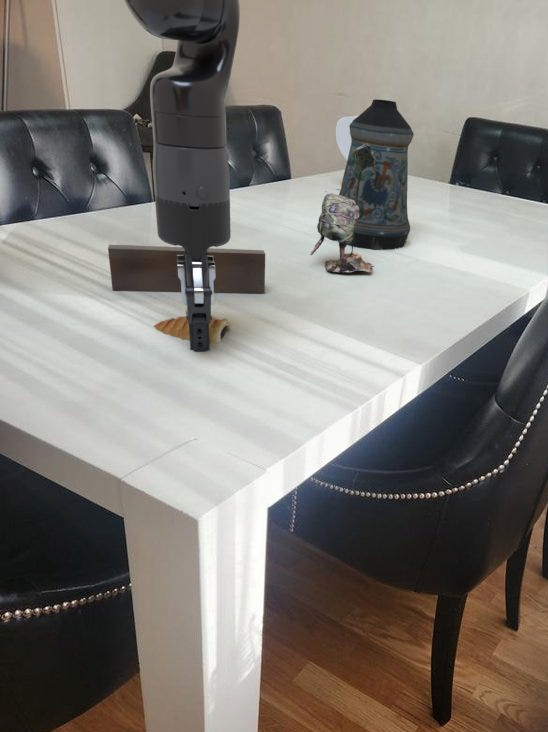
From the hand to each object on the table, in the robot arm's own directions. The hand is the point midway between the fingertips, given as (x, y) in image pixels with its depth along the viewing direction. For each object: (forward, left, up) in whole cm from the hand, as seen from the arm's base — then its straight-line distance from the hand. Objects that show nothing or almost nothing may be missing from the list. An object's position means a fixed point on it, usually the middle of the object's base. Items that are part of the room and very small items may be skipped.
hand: (200, 351), depth 76 cm
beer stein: (+19, +70, -2) cm, 73 cm away
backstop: (-7, +25, -1) cm, 26 cm away
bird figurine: (+15, +45, -2) cm, 48 cm away
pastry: (-2, +5, -2) cm, 5 cm away
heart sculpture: (+16, +120, -2) cm, 121 cm away
